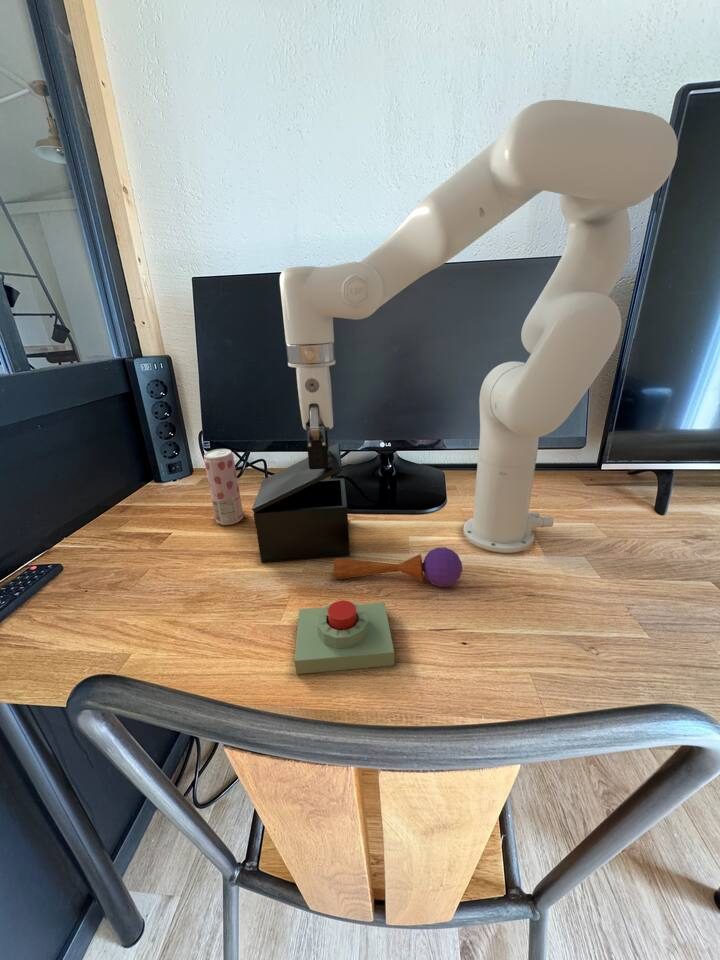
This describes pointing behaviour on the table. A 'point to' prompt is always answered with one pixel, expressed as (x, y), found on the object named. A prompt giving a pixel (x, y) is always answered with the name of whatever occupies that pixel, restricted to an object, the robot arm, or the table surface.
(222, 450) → the beverage can
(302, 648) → the control block
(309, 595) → the table surface
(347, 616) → the button
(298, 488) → the lid
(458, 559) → the kendama
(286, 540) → the black box
